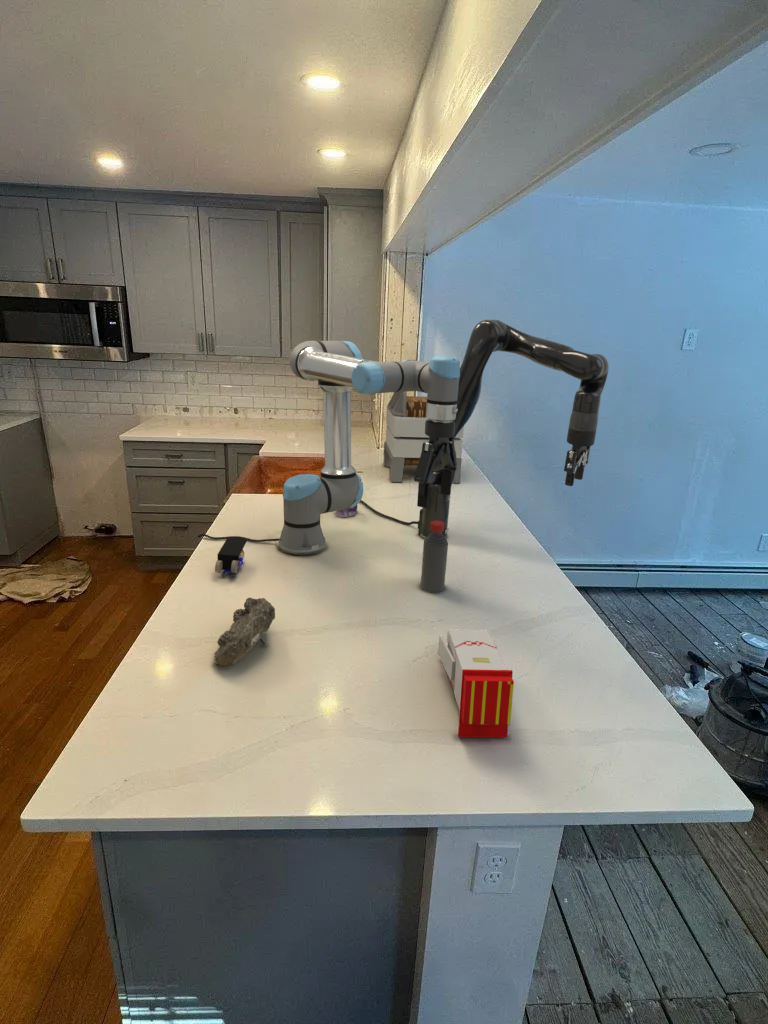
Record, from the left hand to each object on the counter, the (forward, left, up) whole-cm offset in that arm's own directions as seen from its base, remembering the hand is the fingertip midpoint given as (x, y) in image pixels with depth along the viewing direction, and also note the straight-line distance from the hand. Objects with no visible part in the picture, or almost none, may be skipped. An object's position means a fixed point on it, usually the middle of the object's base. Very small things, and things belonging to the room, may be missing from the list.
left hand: (434, 500), depth 149 cm
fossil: (-22, -47, -28) cm, 59 cm away
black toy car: (-54, -21, -28) cm, 64 cm away
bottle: (-1, +4, -28) cm, 28 cm away
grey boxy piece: (-61, +107, -28) cm, 127 cm away
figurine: (-55, +38, -28) cm, 73 cm away
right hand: (+27, +37, +2) cm, 45 cm away
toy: (+28, -33, -28) cm, 51 cm away
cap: (-1, +4, -8) cm, 9 cm away
